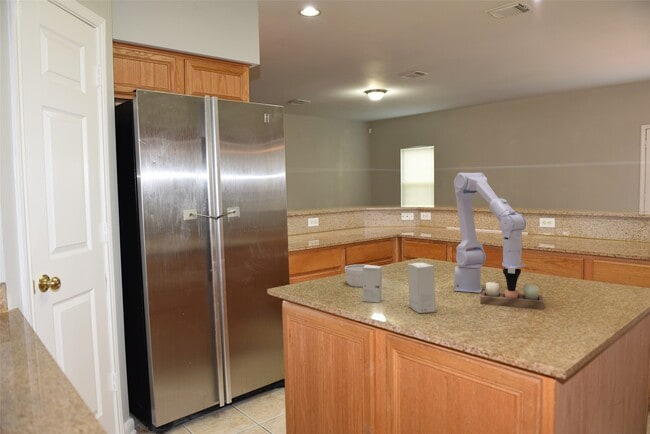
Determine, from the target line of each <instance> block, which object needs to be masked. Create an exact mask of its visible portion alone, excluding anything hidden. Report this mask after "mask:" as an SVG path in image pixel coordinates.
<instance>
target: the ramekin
mask: <svg viewBox="0 0 650 434" xmlns="http://www.w3.org/2000/svg"><path fill="white" fill-rule="evenodd" d="M365 265H366V264H350V265H346V266H345V267H344V272H345V280H346V283H347V285H349V286H351V287H356V288H363V267H364V266H365Z"/></svg>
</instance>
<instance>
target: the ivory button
mask: <svg viewBox="0 0 650 434" xmlns="http://www.w3.org/2000/svg"><path fill="white" fill-rule="evenodd" d="M485 291H486V295H487V296H495V297H497V296H499V292H500V283H498V282H495V281H494V282H493V281H491V282H490V281H489V282H485Z"/></svg>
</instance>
